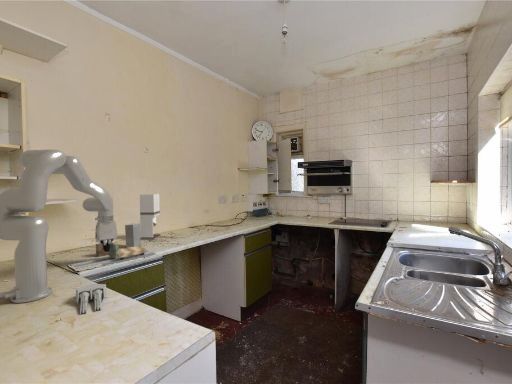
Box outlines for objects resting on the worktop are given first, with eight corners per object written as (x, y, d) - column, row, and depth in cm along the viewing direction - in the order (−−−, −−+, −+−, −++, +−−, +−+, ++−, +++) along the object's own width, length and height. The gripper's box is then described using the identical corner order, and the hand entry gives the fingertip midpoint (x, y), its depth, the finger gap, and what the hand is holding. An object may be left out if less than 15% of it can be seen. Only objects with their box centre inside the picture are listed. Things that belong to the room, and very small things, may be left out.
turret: (73, 323, 89) (72, 310, 88) (77, 293, 106) (76, 282, 105) (107, 315, 94) (107, 303, 93) (106, 287, 111) (105, 277, 110)
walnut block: (99, 256, 158) (98, 245, 158) (96, 255, 162) (95, 244, 161) (108, 255, 162) (107, 243, 162) (104, 253, 166) (104, 242, 165)
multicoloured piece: (116, 261, 147) (115, 245, 147) (107, 257, 155) (107, 242, 155) (146, 254, 161) (146, 239, 160) (137, 251, 168) (136, 237, 168)
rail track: (76, 272, 131) (76, 269, 131) (67, 265, 142) (66, 263, 142) (156, 254, 163) (156, 252, 163) (143, 250, 174) (143, 248, 174)
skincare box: (134, 248, 178) (133, 225, 177) (124, 248, 179) (124, 224, 179) (141, 245, 186) (141, 223, 185) (132, 245, 187) (132, 222, 187)
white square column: (154, 240, 203) (153, 194, 202) (140, 240, 203) (139, 194, 202) (160, 236, 215) (159, 193, 213) (147, 236, 215) (146, 193, 213)
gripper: (93, 221, 140) (94, 255, 141) (122, 218, 152) (123, 249, 152) (88, 219, 145) (89, 253, 146) (116, 216, 156) (117, 247, 157)
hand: (106, 251), depth 149 cm, fingers closed
